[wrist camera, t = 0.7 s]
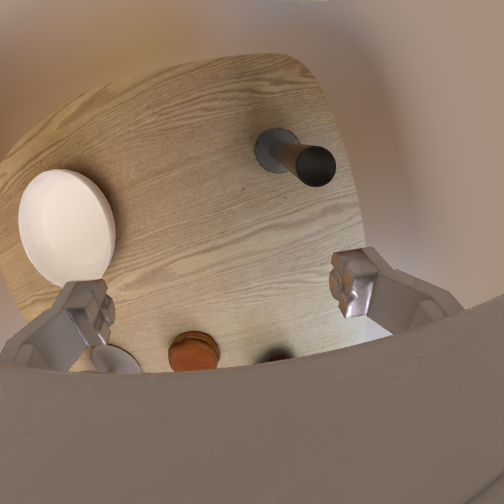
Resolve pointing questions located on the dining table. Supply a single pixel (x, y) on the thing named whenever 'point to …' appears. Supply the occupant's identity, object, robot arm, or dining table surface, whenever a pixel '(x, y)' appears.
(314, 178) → the rod on round base
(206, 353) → the burger
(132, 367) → the chalice
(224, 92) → the dining table surface
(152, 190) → the dining table surface
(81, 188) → the bowl
